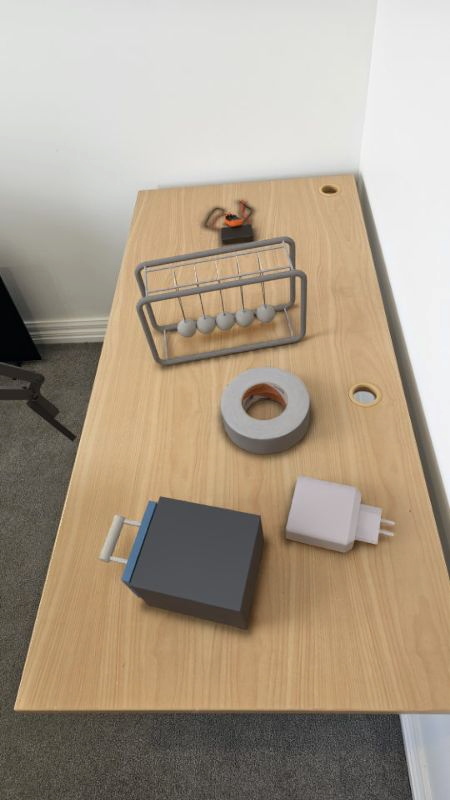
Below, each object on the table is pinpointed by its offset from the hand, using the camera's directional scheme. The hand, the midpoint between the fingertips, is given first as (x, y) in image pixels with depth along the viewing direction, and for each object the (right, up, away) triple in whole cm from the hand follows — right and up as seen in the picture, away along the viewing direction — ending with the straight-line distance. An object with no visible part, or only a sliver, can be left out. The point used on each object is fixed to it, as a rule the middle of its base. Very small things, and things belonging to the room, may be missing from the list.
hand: (32, 481), depth 59 cm
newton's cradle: (+23, +23, +42) cm, 53 cm away
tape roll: (+30, +7, +30) cm, 43 cm away
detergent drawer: (+16, -15, +15) cm, 26 cm away
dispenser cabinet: (+20, -16, +15) cm, 30 cm away
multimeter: (+24, +54, +65) cm, 87 cm away
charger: (+41, -9, +17) cm, 45 cm away
